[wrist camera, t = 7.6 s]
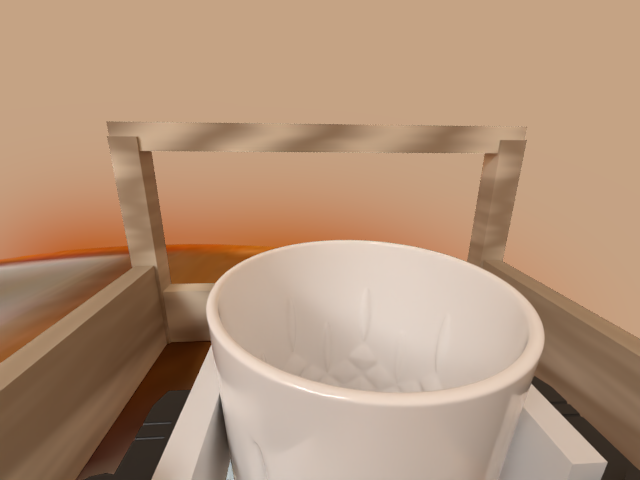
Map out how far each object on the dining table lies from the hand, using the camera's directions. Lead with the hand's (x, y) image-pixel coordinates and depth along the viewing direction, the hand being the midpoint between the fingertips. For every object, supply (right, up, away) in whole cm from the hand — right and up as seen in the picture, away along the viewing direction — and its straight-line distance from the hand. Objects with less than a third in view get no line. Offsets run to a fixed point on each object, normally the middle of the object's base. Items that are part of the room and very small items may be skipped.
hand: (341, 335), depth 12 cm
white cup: (0, -7, -1) cm, 7 cm away
